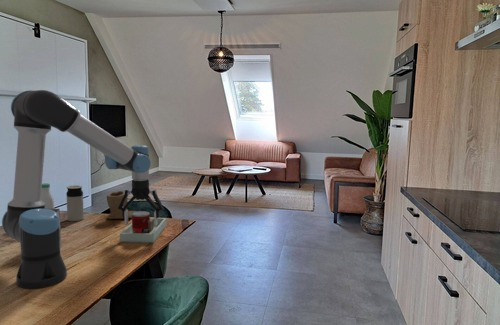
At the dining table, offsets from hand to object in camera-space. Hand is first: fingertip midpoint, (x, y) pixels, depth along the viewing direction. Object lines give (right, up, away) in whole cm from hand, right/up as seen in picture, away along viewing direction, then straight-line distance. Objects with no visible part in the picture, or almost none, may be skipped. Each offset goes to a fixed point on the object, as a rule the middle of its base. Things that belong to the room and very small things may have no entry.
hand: (141, 224), depth 171 cm
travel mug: (-43, -2, +27) cm, 51 cm away
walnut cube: (0, -4, +10) cm, 11 cm away
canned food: (0, -6, +1) cm, 6 cm away
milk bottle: (-56, -2, +22) cm, 61 cm away
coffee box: (-35, -8, -14) cm, 39 cm away
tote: (0, -5, +7) cm, 9 cm away
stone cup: (-20, -2, +31) cm, 37 cm away
